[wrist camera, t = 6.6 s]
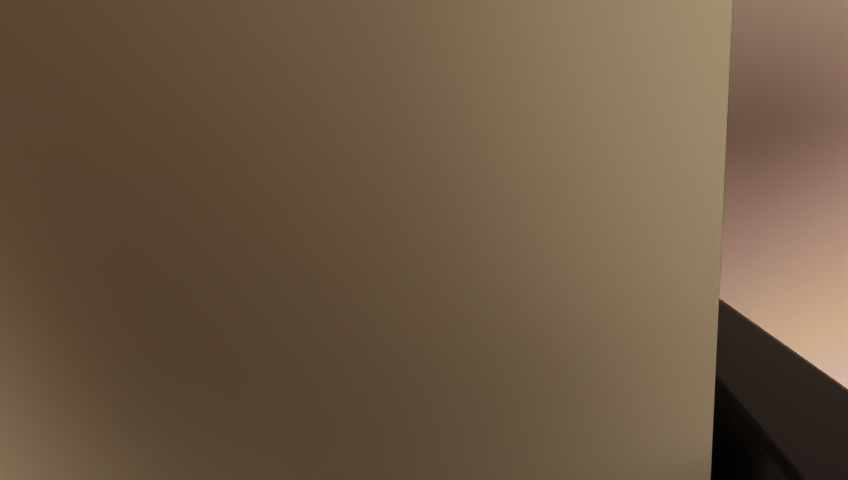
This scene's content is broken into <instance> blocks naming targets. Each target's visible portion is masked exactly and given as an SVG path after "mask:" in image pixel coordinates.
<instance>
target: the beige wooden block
mask: <svg viewBox="0 0 848 480" xmlns="http://www.w3.org/2000/svg"><path fill="white" fill-rule="evenodd" d="M732 4H733V0H0V480H711V460H712V438H713V416H714V395H715V373H716V351H717V330H718V308H719V286H720V265H721V243H722V221H723V200H724V178H725V156H726V135H727V113H728V91H729V69H730V48H731V26H732Z"/></svg>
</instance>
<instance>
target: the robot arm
mask: <svg viewBox="0 0 848 480" xmlns="http://www.w3.org/2000/svg"><path fill="white" fill-rule="evenodd" d="M711 480H848V389H847V388H845V387H844V386H842V385H841V384H840V383H838V382H837V381H835V380H834V379H833V378H831V377H830V376H828V375H827V374H825V373H824V372H823V371H821V370H820V369H818V368H817V367H816V366H814V365H813V364H811V363H810V362H809V361H807V360H806V359H804V358H803V357H801V356H800V355H799V354H797V353H796V352H794V351H793V350H792V349H790V348H789V347H787V346H786V345H784V344H783V343H782V342H780V341H779V340H777V339H776V338H775V337H773V336H772V335H770V334H769V333H768V332H766V331H765V330H763V329H762V328H760V327H759V326H758V325H756V324H755V323H753V322H752V321H751V320H749V319H748V318H746V317H745V316H743V315H742V314H741V313H739V312H738V311H736V310H735V309H734V308H732V307H731V306H729V305H728V304H726V303H725V302H724V301H722V300H721V299H719V308H718V330H717V351H716V373H715V395H714V416H713V438H712V460H711Z"/></svg>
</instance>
